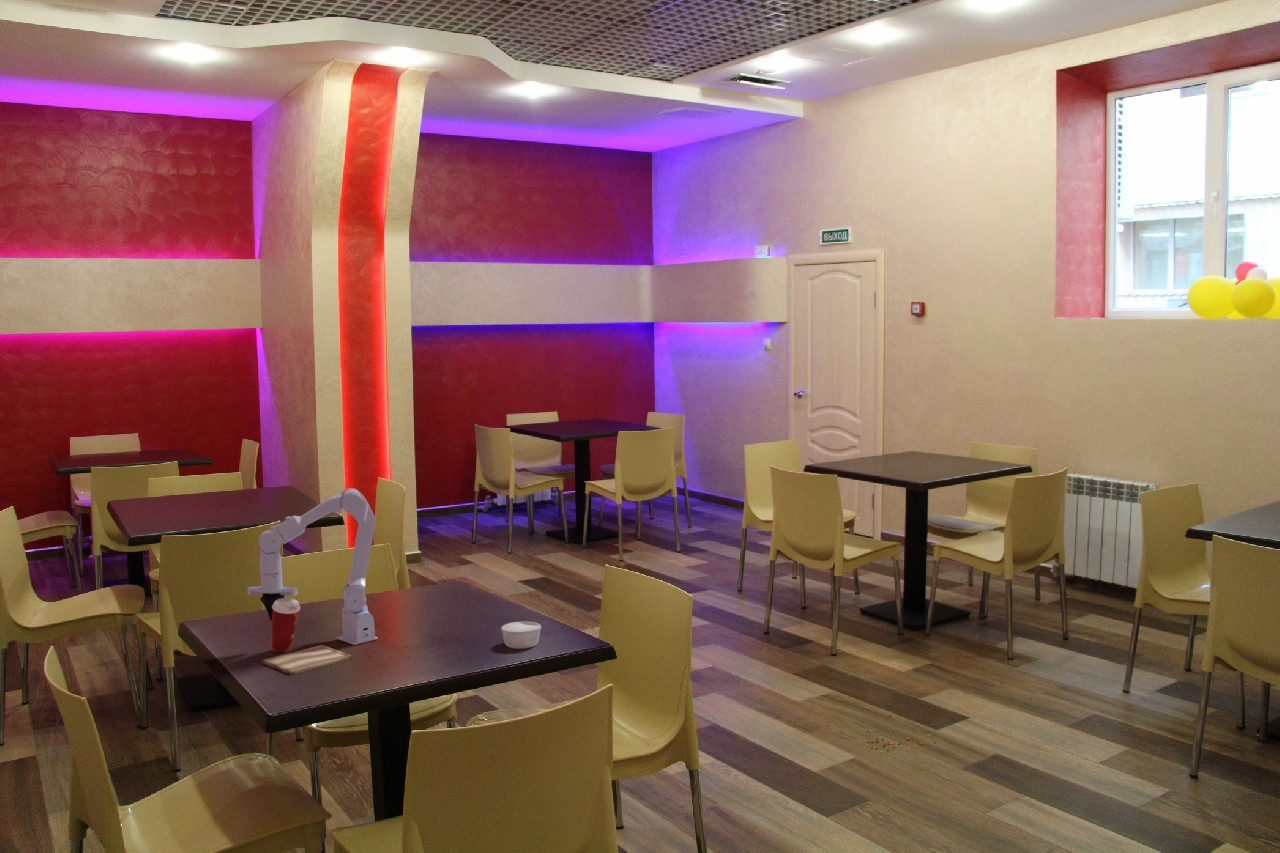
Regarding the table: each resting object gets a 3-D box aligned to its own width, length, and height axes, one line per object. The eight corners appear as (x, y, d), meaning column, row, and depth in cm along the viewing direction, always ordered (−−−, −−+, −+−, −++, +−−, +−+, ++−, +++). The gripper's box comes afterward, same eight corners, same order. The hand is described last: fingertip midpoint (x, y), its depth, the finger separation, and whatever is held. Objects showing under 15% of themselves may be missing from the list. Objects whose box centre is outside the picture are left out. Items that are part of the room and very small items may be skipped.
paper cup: (300, 651, 299) (306, 606, 295) (275, 656, 293) (280, 611, 290) (286, 639, 304) (292, 595, 300) (261, 644, 298) (267, 599, 295)
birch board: (352, 658, 289) (351, 655, 289) (291, 675, 276) (291, 671, 276) (322, 647, 300) (322, 644, 300) (262, 662, 287) (262, 659, 287)
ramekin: (547, 640, 303) (546, 622, 303) (533, 651, 292) (532, 633, 292) (511, 637, 306) (510, 620, 306) (495, 649, 295) (495, 630, 295)
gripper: (301, 570, 301) (304, 616, 303) (255, 569, 304) (258, 615, 305) (289, 575, 294) (291, 623, 296) (242, 574, 297) (244, 621, 298)
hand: (273, 619), depth 300 cm, fingers closed
